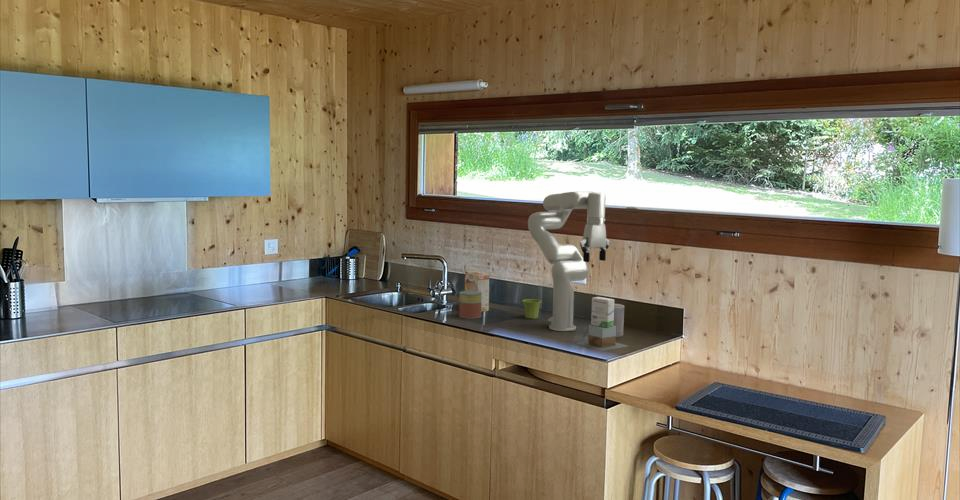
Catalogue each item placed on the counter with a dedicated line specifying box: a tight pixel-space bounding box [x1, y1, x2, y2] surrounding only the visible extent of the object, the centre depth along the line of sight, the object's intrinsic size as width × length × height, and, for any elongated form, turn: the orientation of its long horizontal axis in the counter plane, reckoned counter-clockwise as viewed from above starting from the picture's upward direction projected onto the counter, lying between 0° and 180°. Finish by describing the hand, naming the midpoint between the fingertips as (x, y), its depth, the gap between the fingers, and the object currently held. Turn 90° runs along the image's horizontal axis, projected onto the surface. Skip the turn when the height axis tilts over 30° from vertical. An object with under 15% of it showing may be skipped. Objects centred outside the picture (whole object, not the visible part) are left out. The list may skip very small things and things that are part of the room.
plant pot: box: [522, 298, 542, 320], centre depth 360 cm, size 9×9×9 cm
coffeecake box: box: [464, 269, 490, 313], centre depth 380 cm, size 15×7×20 cm, turn 28°
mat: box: [575, 340, 628, 352], centre depth 305 cm, size 16×16×1 cm
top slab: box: [588, 324, 616, 338], centre depth 304 cm, size 8×8×4 cm
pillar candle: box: [614, 303, 625, 338], centre depth 323 cm, size 10×10×15 cm
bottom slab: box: [587, 334, 617, 348], centre depth 305 cm, size 8×8×4 cm
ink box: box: [590, 296, 615, 328], centre depth 303 cm, size 8×5×12 cm, turn 45°
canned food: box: [458, 290, 482, 320], centre depth 360 cm, size 11×11×12 cm
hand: (594, 261), depth 313 cm, fingers open, 9 cm apart
